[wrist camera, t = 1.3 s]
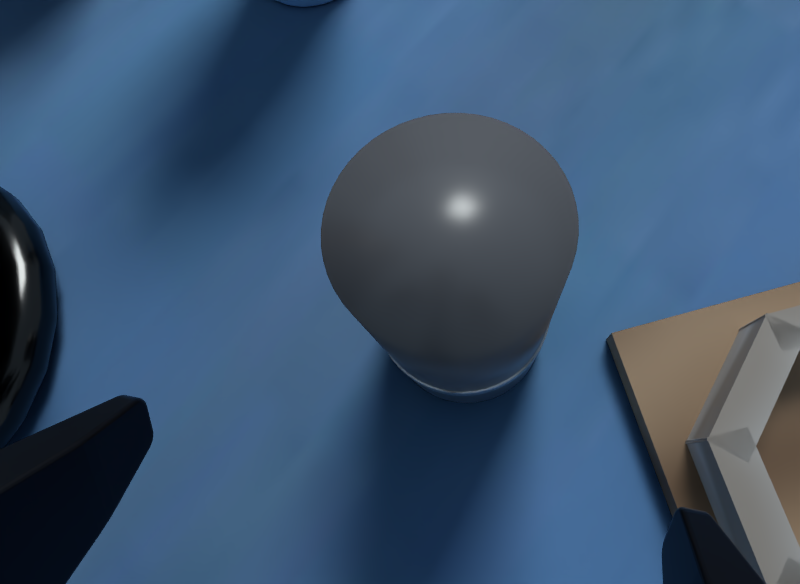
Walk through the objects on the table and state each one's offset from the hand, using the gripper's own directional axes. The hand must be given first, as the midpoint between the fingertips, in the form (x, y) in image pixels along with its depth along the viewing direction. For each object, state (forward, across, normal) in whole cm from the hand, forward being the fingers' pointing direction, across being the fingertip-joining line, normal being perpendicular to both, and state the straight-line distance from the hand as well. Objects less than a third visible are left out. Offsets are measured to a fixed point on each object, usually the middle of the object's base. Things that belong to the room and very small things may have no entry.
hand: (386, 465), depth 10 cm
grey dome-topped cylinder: (+12, 0, +5) cm, 13 cm away
